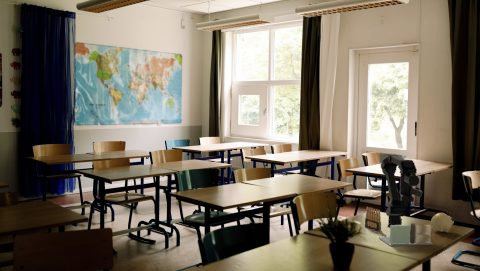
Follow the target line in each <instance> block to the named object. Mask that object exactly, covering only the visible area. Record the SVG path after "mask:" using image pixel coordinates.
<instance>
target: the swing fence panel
mask: <svg viewBox="0 0 480 271" xmlns="http://www.w3.org/2000/svg"><path fill="white" fill-rule="evenodd" d="M410 225H411V224H402V225H390V227H389V237H390V244H399V243H410Z"/></svg>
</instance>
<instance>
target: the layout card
mask: <svg viewBox="0 0 480 271" xmlns="http://www.w3.org/2000/svg"><path fill="white" fill-rule="evenodd" d="M378 239H379V240H381V241H382V242H383V243H385V244H386V245H388V246H389V247H406V246H407V247H408V246H412V247H413V246H429V245H431V246H432V245H434V243H432V242H431V241H430V243H415V244H411V243H399V244H390V236H383V237H378Z"/></svg>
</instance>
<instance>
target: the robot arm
mask: <svg viewBox="0 0 480 271" xmlns="http://www.w3.org/2000/svg"><path fill="white" fill-rule="evenodd" d="M397 168H398V170H399V174H400V177H399V179H400V180H399V181H400V182H399V190H398V186H397V181H396V175H395V174H396V173H397V172H396V171H397ZM380 169H381V171H382V174H383V175H384V176H385V177H386V178H385V179H386V185H387V189H388V194H389V203H388V207H387V208H386V211H385V215H386V216H387V217H388V220H387V221H388V224H387V227H388V228H390V225H403V219H402V217H405V216H404V215H405V213H406V212H407V210H408V206H409V204H410V202H413V203H414V202H415V198H414V196H416V197H418V198H422V195H423V193H424V192H423V190H420V187H419V186H418V185H419V184H420V182H421V181H420V178H419V176H418V175H417V173H418V172H417V171H418V170H417V167H416V165H415V162H414V160H413V159H405V158H403V157H401V156H399V155H398V154H388V155H387V156H386V157H385V158H384V159H383V160H382V161H381V163H380ZM413 195H414V196H413Z"/></svg>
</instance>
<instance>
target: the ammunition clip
mask: <svg viewBox="0 0 480 271" xmlns="http://www.w3.org/2000/svg"><path fill="white" fill-rule="evenodd" d="M365 210H366V211H365V212H366V213H365V218H364V228H367V229H370V230H373V231H377V232H382V222H381V220H382V218H381V210H380V209H377V208H376V209H375V207H370V206H369V207H368V206H366V209H365Z"/></svg>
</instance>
